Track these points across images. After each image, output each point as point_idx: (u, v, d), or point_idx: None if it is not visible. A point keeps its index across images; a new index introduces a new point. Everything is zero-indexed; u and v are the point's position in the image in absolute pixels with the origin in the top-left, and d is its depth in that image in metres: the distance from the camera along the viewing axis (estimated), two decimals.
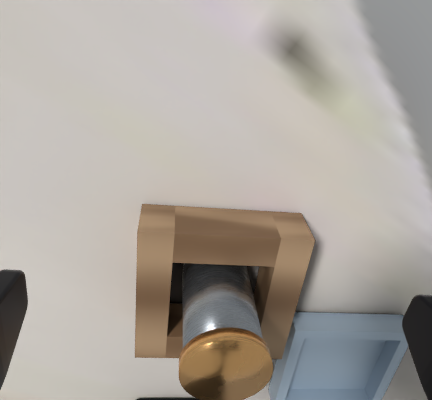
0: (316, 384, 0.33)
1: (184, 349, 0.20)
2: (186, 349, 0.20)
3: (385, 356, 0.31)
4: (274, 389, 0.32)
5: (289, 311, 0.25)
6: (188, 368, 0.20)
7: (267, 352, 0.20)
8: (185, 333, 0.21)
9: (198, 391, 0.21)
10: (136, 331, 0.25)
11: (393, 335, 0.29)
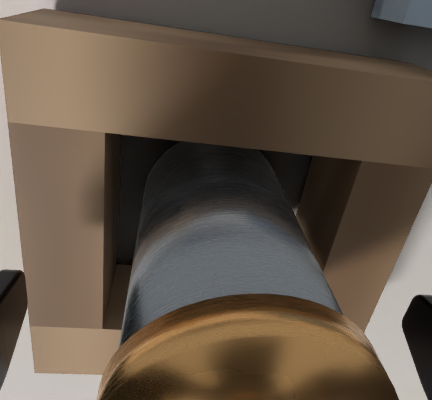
0: None
1: None
2: None
3: None
4: None
5: (276, 76, 0.08)
6: None
7: (164, 352, 0.05)
8: None
9: None
10: None
11: None
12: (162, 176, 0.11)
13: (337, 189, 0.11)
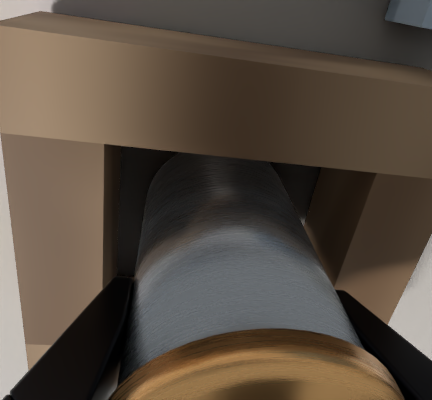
0: None
1: None
2: None
3: None
4: None
5: (287, 84, 0.08)
6: None
7: (168, 398, 0.05)
8: None
9: None
10: None
11: None
12: (164, 188, 0.10)
13: (349, 201, 0.10)
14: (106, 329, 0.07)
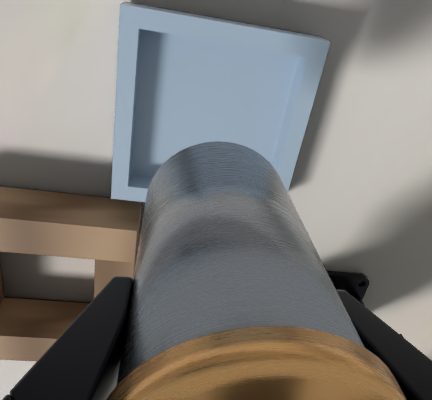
0: (267, 139, 0.21)
1: None
2: None
3: None
4: None
5: (43, 227, 0.19)
6: None
7: (168, 396, 0.05)
8: None
9: None
10: None
11: (125, 45, 0.17)
12: (164, 186, 0.10)
13: None
14: (106, 329, 0.07)
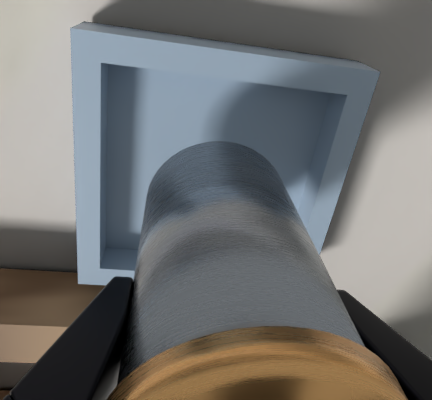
0: None
1: None
2: None
3: None
4: None
5: None
6: None
7: (169, 396, 0.05)
8: None
9: None
10: None
11: (82, 87, 0.11)
12: (164, 186, 0.10)
13: None
14: (106, 329, 0.07)
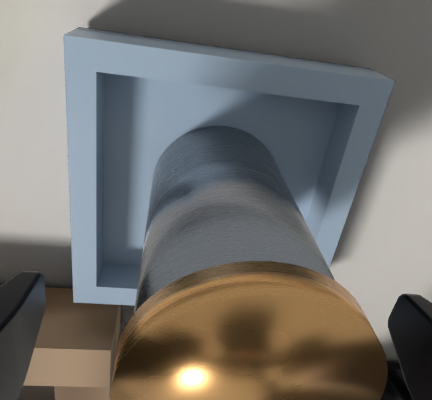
0: None
1: None
2: None
3: None
4: None
5: None
6: None
7: (178, 309, 0.06)
8: None
9: None
10: None
11: (77, 97, 0.11)
12: (170, 164, 0.11)
13: None
14: None
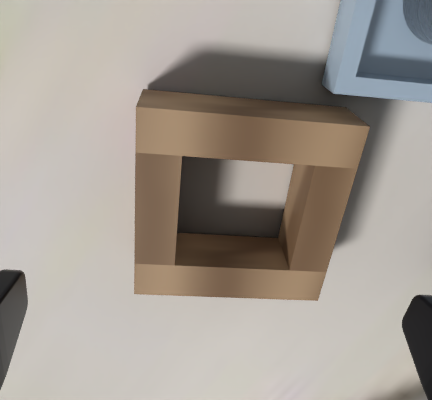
0: None
1: None
2: None
3: None
4: None
5: (267, 125, 0.17)
6: None
7: None
8: None
9: None
10: (275, 298, 0.22)
11: None
12: None
13: (305, 181, 0.19)
14: None
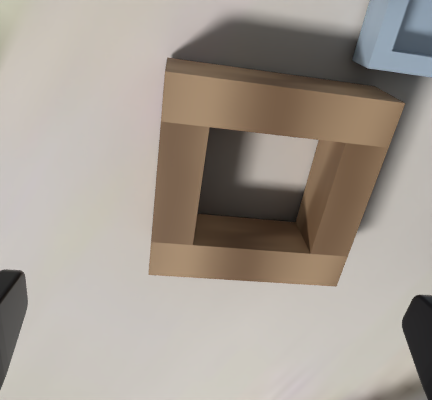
0: None
1: None
2: None
3: None
4: None
5: (300, 97, 0.16)
6: None
7: None
8: None
9: None
10: (293, 282, 0.21)
11: None
12: None
13: (332, 160, 0.18)
14: None
